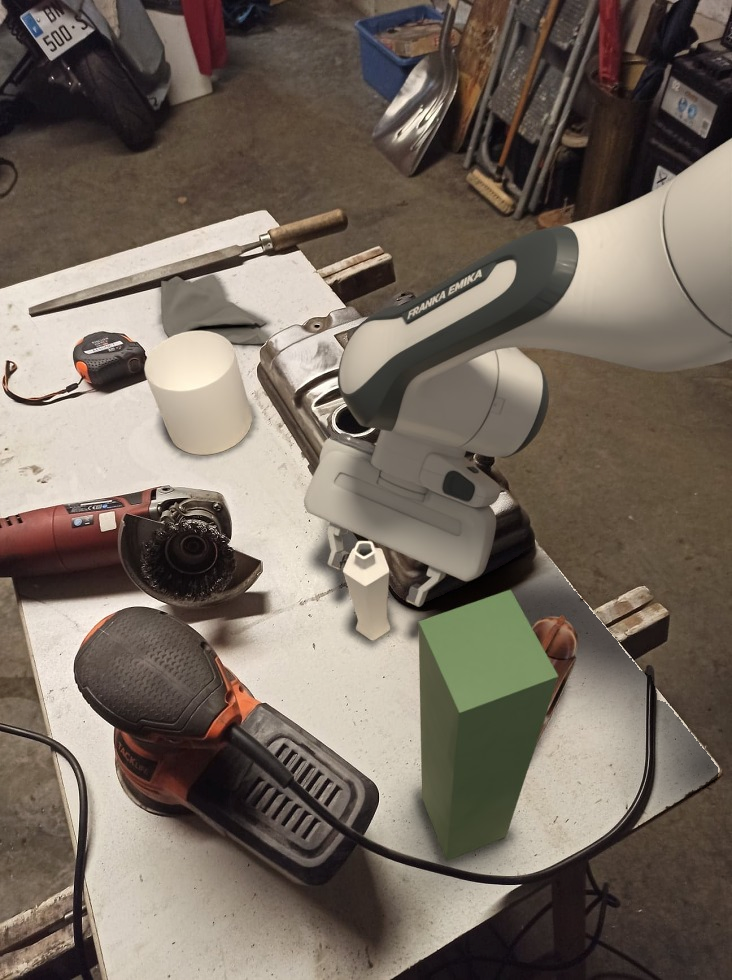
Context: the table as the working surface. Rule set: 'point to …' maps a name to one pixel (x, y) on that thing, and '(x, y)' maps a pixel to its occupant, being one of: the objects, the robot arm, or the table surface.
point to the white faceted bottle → (368, 588)
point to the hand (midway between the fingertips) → (374, 584)
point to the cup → (199, 391)
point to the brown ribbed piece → (557, 653)
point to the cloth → (206, 311)
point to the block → (479, 717)
